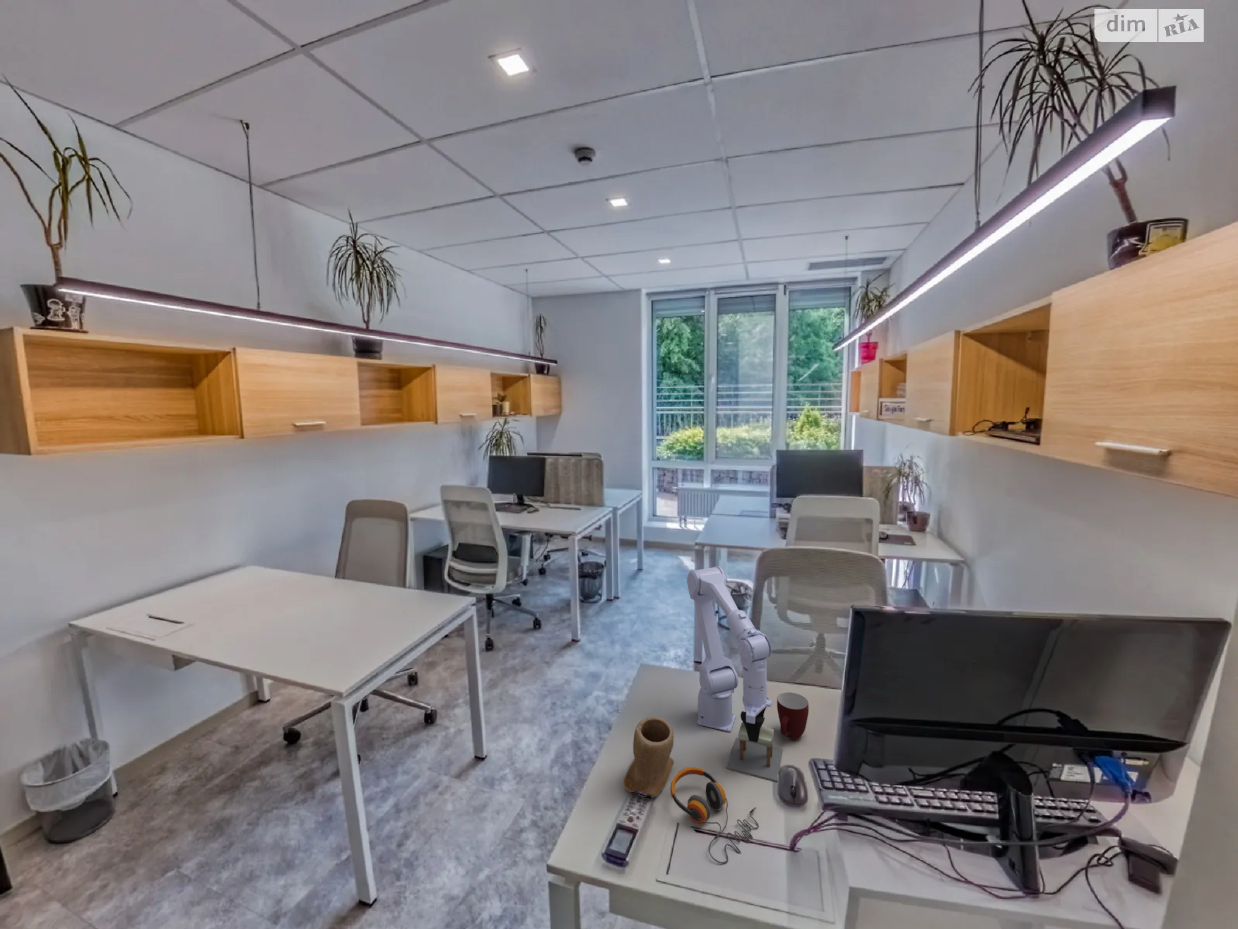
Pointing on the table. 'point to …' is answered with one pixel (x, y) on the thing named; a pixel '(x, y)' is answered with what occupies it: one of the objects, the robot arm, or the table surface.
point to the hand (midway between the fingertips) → (755, 733)
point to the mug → (792, 714)
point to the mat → (755, 760)
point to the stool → (764, 740)
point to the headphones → (700, 807)
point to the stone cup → (650, 756)
